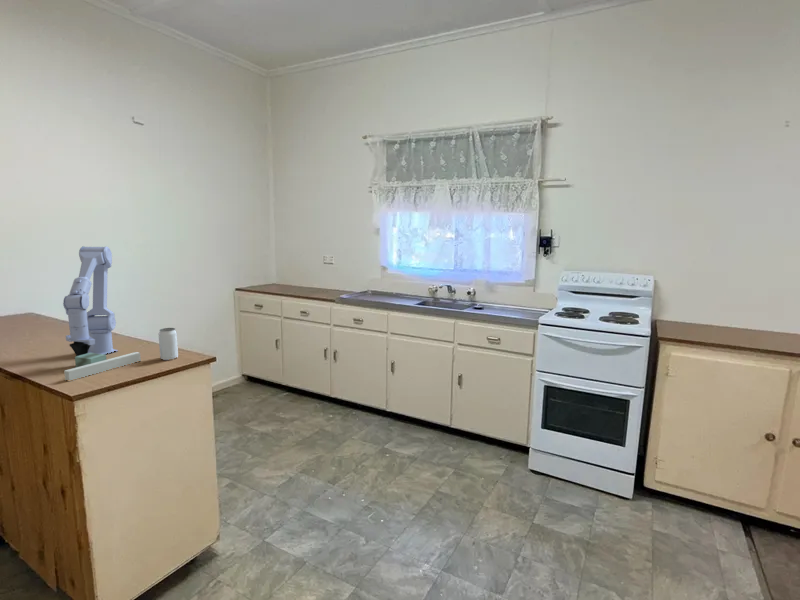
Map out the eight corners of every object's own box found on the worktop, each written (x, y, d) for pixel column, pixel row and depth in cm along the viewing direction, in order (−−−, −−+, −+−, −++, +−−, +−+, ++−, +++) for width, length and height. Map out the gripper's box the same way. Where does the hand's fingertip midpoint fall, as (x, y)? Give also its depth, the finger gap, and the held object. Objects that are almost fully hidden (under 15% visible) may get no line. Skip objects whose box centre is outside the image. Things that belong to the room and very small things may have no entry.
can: (161, 356, 182) (159, 328, 180) (179, 355, 185) (177, 327, 183) (159, 361, 176) (157, 331, 174) (177, 359, 179) (175, 330, 177)
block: (75, 368, 166) (74, 356, 165) (91, 363, 172) (90, 352, 171) (91, 370, 163) (90, 359, 163) (107, 366, 169) (105, 354, 168)
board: (65, 380, 153) (64, 370, 153) (136, 360, 177) (136, 352, 176) (69, 381, 152) (68, 371, 152) (140, 361, 176) (140, 352, 175)
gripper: (55, 326, 167) (59, 361, 169) (79, 330, 161) (82, 366, 163) (75, 322, 173) (79, 356, 175) (99, 326, 167) (102, 361, 169)
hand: (82, 360), depth 170 cm, fingers closed
